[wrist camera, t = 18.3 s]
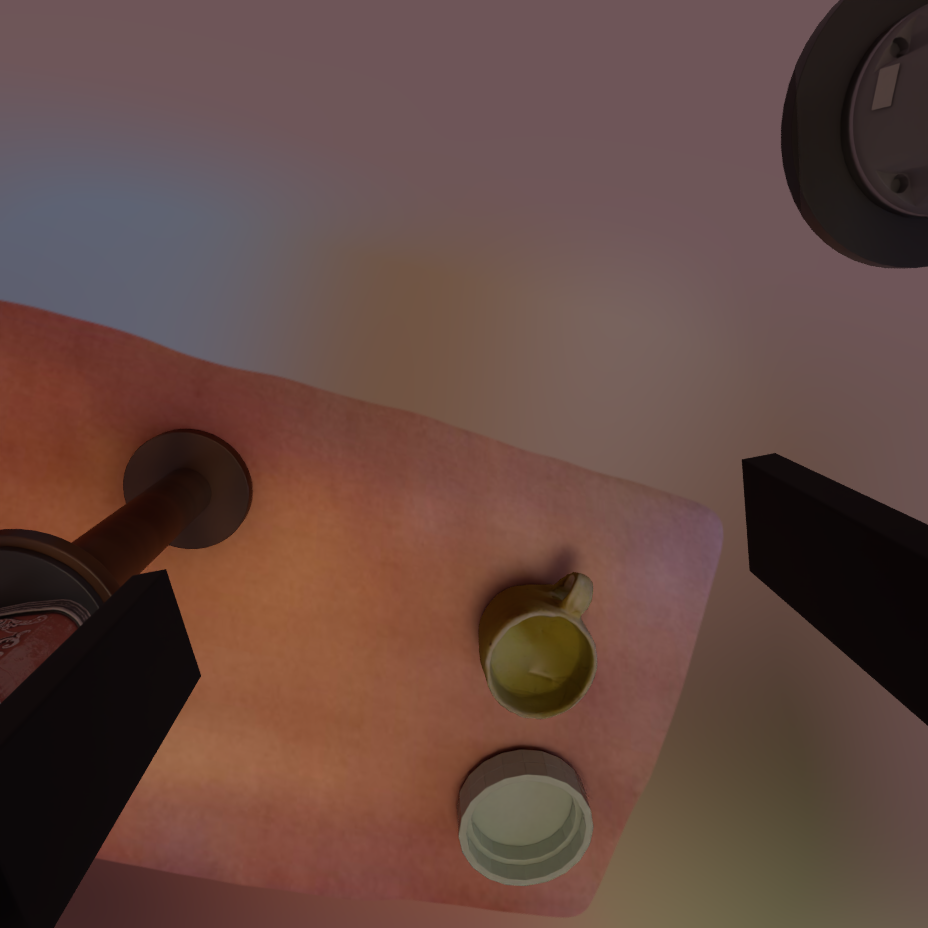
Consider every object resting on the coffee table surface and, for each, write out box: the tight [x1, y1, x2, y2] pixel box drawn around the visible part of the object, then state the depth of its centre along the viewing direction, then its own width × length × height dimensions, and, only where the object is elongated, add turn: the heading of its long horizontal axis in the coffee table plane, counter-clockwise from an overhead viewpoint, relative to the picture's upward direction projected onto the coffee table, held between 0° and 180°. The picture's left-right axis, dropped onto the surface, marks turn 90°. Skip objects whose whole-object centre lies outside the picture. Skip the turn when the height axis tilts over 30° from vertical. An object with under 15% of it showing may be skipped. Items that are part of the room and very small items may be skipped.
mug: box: [479, 572, 597, 719], centre depth 56 cm, size 12×10×10 cm
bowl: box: [457, 749, 593, 886], centre depth 62 cm, size 12×12×4 cm
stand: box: [0, 429, 253, 615], centre depth 43 cm, size 10×10×24 cm
